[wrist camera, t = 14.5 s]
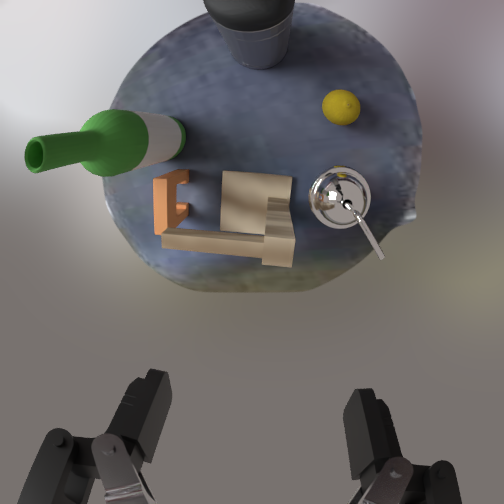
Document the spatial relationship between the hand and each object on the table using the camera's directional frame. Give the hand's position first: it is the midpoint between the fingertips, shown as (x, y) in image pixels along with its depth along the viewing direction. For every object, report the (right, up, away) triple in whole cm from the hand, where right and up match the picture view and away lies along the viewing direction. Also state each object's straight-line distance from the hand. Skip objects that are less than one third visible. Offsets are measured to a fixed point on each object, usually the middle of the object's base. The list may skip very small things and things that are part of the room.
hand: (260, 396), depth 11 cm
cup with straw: (+12, +17, +34) cm, 39 cm away
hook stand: (-1, +14, +36) cm, 38 cm away
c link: (-12, +16, +36) cm, 41 cm away
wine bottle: (-15, +25, +32) cm, 43 cm away
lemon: (+13, +29, +28) cm, 42 cm away
